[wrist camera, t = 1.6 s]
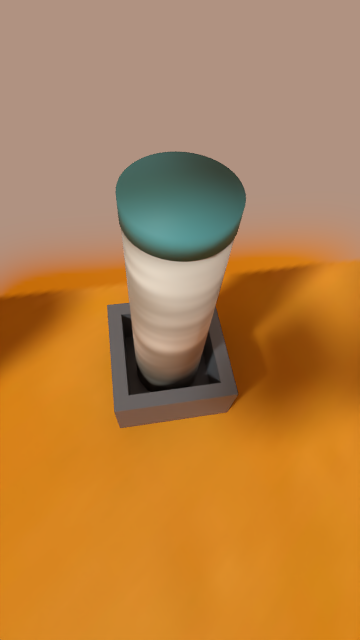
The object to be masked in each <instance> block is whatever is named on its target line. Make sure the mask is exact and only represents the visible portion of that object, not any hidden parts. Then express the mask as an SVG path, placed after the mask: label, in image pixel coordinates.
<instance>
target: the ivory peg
mask: <svg viewBox="0 0 360 640" xmlns="http://www.w3.org/2000/svg"><path fill="white" fill-rule="evenodd" d="M116 200H117V209H118V217H119V224H120V227H121V231H122V240H123V249H124V257H125V266H126V276H127V285H128V294H129V303H130V312H131V321H132V330H133V339H134V348H135V357H136V366H137V374H138V377H139V379H140V381H141V383H142V384H143V386H144V387H145V388H146V389H148V390H149V391H150V392H157V391H164V390H171V389H179V388H186V387H190V386H191V385H192V383H193V382H194V380H195V377H196V374H197V370H198V367H199V363H200V360H201V356H202V352H203V349H204V345H205V342H206V338H207V334H208V331H209V327H210V324H211V320H212V316H213V313H214V309H215V306H216V302H217V298H218V295H219V291H220V288H221V284H222V280H223V277H224V273H225V270H226V266H227V262H228V259H229V255H230V252H231V248H232V244H233V241H234V238H235V236H236V234H237V232H238V228H239V225H240V221H241V218H242V214H243V211H244V207H245V202H246V194H245V190H244V187H243V185H242V183H241V181H240V180H239V178H238V177H237V176H236V175H235V174H234V173H233V172H232V171H231V170H230V169H229V168H227V167H226V166H224V165H223V164H221V163H219V162H218V161H216V160H213V159H211V158H208V157H205V156H202V155H198V154H194V153H187V152H163V153H157V154H153V155H149V156H146V157H144V158H141V159H139V160H137V161H136V162H134V163H132V164H131V165H130V166H129V167H127V168H126V169H125V170H124V172H123V173H122V174H121V176H120V177H119V179H118V182H117V185H116Z"/></svg>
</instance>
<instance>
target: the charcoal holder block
mask: <svg viewBox="0 0 360 640" xmlns="http://www.w3.org/2000/svg"><path fill="white" fill-rule="evenodd" d="M107 308H108V323H109V338H110V353H111V367H112V382H113V397H114V412H115V415H116V418H117V421H118V423H119V426H120V428H124V427H131V426H138V425H145V424H151V423H158V422H165V421H171V420H178V419H185V418H192V417H198V416H205V415H212V414H218V413H225V412H227V411H228V410H229V408H230V407H231V405H232V403H233V402H234V400H235V399H236V397H237V396H238V391H237V387H236V383H235V380H234V376H233V372H232V368H231V364H230V360H229V356H228V352H227V349H226V345H225V341H224V337H223V333H222V329H221V325H220V321H219V318H218V314H217V310H216V306H215V309H214V313H213V316H212V320H211V324H210V327H209V331H208V334H207V338H206V342H205V345H204V349H203V352H202V356H201V360H200V363H199V367H198V370H197V374H196V377H195V380H194V382H193V383H192V385H191V386H190V387H186V388H179V389H171V390H164V391H157V392H150V391H149V390H148V389H146V388H145V387H144V386H143V384H142V383H141V381H140V379H139V377H138V374H137V366H136V357H135V348H134V339H133V330H132V321H131V312H130V303H124V304H114V305H107Z"/></svg>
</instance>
